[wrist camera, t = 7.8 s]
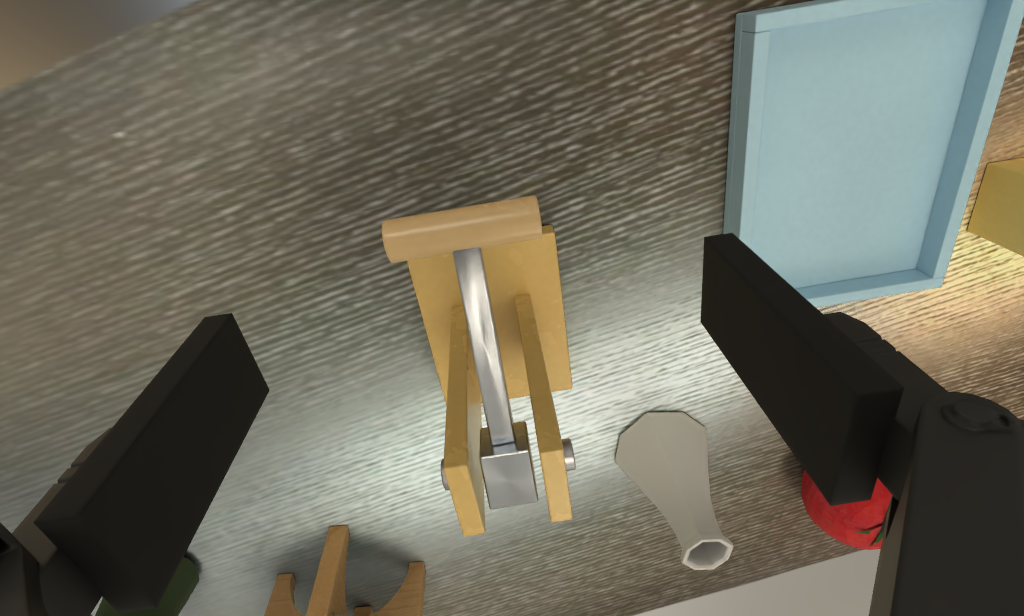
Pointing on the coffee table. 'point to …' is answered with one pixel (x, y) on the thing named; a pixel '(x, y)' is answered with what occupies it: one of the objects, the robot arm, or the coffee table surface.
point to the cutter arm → (480, 323)
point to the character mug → (172, 597)
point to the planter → (329, 586)
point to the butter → (1001, 205)
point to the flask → (676, 482)
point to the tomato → (848, 515)
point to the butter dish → (861, 137)
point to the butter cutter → (525, 356)
